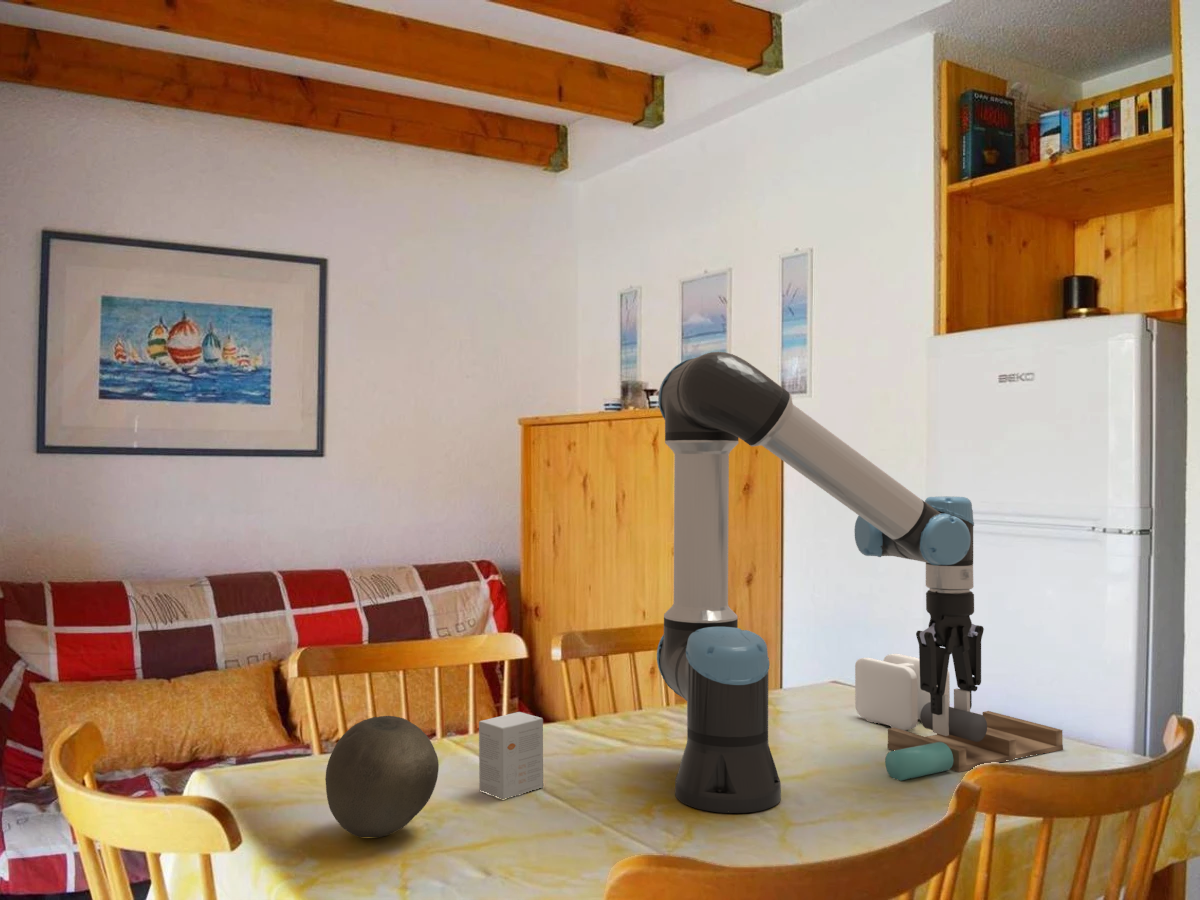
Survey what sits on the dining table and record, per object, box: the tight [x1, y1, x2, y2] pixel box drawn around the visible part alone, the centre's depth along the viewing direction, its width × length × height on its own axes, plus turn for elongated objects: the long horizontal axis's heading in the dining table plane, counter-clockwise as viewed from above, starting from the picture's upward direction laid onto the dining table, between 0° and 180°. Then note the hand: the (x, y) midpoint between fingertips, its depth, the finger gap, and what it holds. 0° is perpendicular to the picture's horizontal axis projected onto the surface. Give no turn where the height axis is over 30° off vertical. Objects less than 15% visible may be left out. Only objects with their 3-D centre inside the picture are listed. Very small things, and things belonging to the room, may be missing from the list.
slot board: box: [886, 710, 1064, 773], centre depth 171 cm, size 25×15×3 cm, turn 119°
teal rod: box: [884, 742, 953, 782], centre depth 157 cm, size 10×4×4 cm, turn 119°
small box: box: [478, 711, 544, 799], centre depth 150 cm, size 8×6×10 cm
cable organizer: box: [854, 653, 951, 731], centre depth 189 cm, size 15×11×12 cm
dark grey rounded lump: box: [324, 715, 440, 838], centre depth 132 cm, size 14×14×15 cm
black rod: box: [919, 702, 987, 742], centre depth 168 cm, size 10×4×4 cm
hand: (951, 731), depth 168 cm, fingers closed on black rod, 4 cm apart
